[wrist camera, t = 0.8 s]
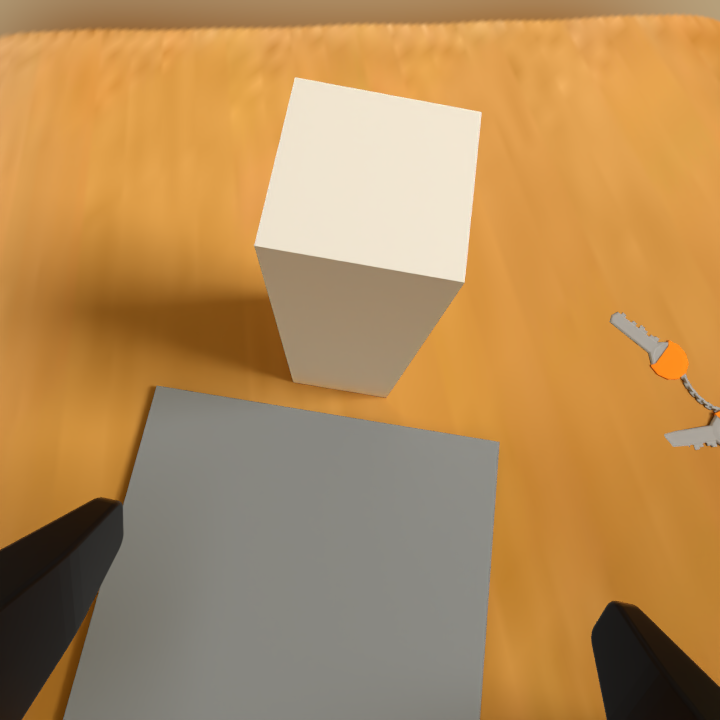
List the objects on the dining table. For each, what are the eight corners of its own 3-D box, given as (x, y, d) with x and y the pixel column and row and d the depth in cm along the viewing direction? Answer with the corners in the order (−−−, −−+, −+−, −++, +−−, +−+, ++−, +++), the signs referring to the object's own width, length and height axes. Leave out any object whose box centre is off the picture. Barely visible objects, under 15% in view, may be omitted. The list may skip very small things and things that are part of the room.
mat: (466, 862, 18) (469, 870, 17) (43, 804, 17) (37, 811, 17) (496, 442, 22) (499, 442, 22) (159, 387, 22) (156, 385, 21)
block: (386, 397, 22) (464, 282, 10) (293, 382, 22) (254, 245, 10) (398, 311, 24) (481, 112, 11) (310, 296, 24) (295, 77, 11)
